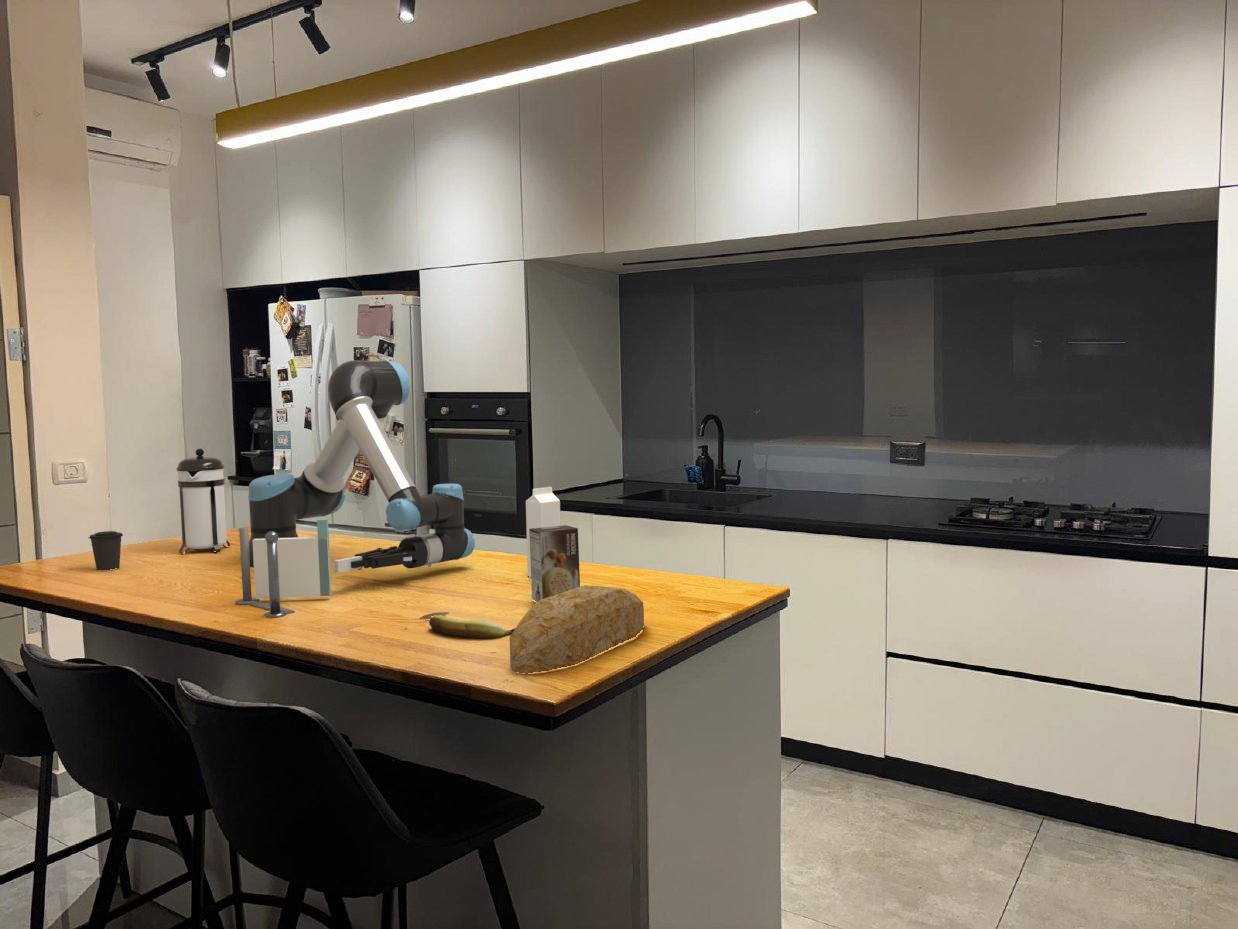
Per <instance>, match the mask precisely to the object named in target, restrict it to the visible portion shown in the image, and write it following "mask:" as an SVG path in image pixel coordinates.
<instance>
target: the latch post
mask: <svg viewBox="0 0 1238 929" xmlns="http://www.w3.org/2000/svg"><path fill="white" fill-rule="evenodd" d="M265 540H266V542H267V558H268V578H269V598H268V599H269V604H270V611H268V612H265V613H263V615H264V616H266V617H265V618H268V617H275V618H280V617H279V616H282V617H284V616H287V615H288V614H287V612H286V611H280V607H281V598H280V593H279V572H278V551H277V541H278V534H277V533H276V532H273V531H271V532H268V533H267V534H266V535H265ZM264 616H263V617H264Z"/></svg>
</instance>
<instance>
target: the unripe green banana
mask: <svg viewBox="0 0 1238 929" xmlns="http://www.w3.org/2000/svg"><path fill="white" fill-rule="evenodd" d="M449 614H450V612H449V611H448V612H447V611H444V612H443V611H441V612H440V611H439V612H431V613H427V614H424V615H423V616H420V617H419V618H418V619H420V620H425V621H424V622H428V624H429V626H430V627H431V629H432V632H433V633H435V634H438V635H441V636H445V637H453V638H460V639H475V640H476V639H477V640H478V639H479V640H489V639H497V638H502V637H505V635H506V636H511V635H510V634H512V633H513V631H514V630H515V628H516V627H513V628H511V629H505V628H503V626H501V625H499V624H497V623H494V622H492V621H487V620H481V619H480V620H479V619H477V620H476V619H459V618H455V617H448V616H447V615H449ZM431 616H433V617H431ZM426 619H430V620H426ZM406 630H408V627H405V630H404V631H406ZM491 654H496V652H491Z"/></svg>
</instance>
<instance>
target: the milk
mask: <svg viewBox="0 0 1238 929" xmlns="http://www.w3.org/2000/svg"><path fill="white" fill-rule="evenodd" d="M525 518H526V519H525V521H526V524H525V525H526V557H527V558H526V562H527V567H526V568H527V577H528V576H529V577H531V560H530V533H529V529H531V528H542V527H552V526H561V501H560V498H558V497H557V496H556V495H555V494H554V493H553V487H552V486H546V487H536V488H533V489H532V495H531V496H530V497H528V498H527V499H526V500H525ZM529 577H528V578H529Z"/></svg>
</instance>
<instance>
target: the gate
mask: <svg viewBox="0 0 1238 929" xmlns="http://www.w3.org/2000/svg"><path fill="white" fill-rule="evenodd" d="M316 525H317V530H316V531H317V536H305V537H304V536H303V537H301V536H300V537H299V536H298V537H297V538H278V541H277V551H278V572H279V593H280V599H281V598H297V597H298V598H307V597H310V598H311V597H330V596H331V595H332V582H331V581H332V579H331V578H332V577H331V576H332V575H331V556H330V553H331V552H330V536H329V535H330V534H329V532H330V531H329V518H318V519H316ZM238 530H239V548H240V551H239V552H240V567H241V569H240V570H241V585H242V586H241V588H242V599H243V600H244V601H247V600H252V598H253V597H252V576H251V566H250V555H249V540H250V537H249V527H247V526H245V527H239V528H238ZM252 541H253V560H254V566H253V576H254V577H253V579H254V598H258V599H270V598H269V578H268V558H267V542H266V540H265V538H264V539H254V540H252Z"/></svg>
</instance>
